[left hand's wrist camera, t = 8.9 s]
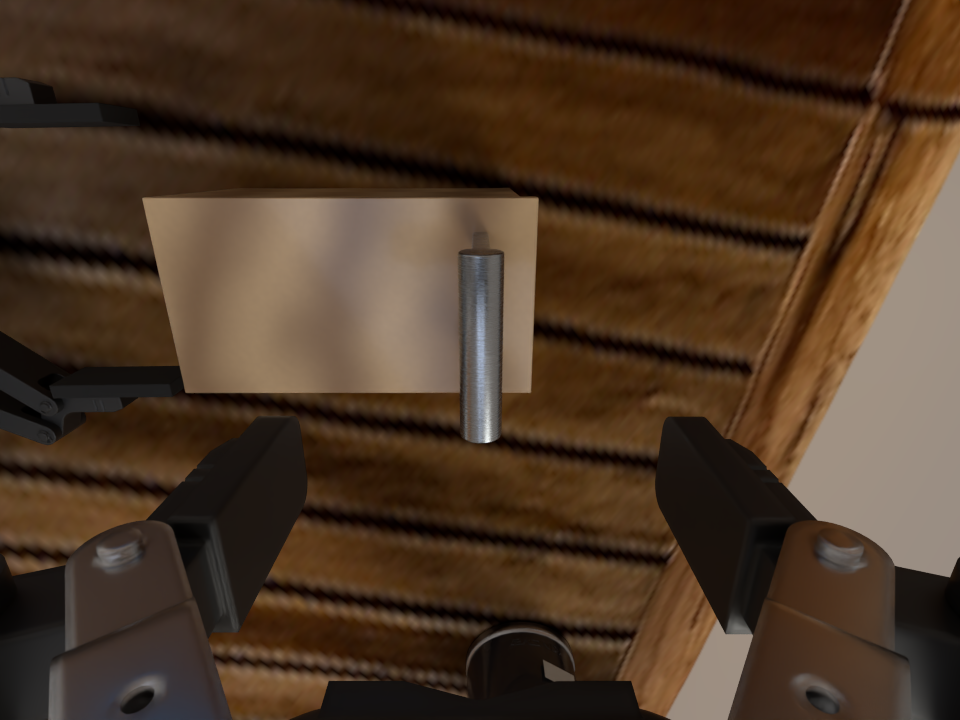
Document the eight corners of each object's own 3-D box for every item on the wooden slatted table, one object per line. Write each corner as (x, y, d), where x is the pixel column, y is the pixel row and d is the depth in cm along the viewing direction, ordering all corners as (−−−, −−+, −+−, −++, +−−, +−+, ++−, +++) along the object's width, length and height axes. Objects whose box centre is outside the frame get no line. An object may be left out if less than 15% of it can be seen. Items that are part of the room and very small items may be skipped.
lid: (536, 196, 23) (564, 212, 16) (529, 386, 26) (549, 475, 19) (152, 196, 23) (-7, 211, 15) (193, 386, 26) (79, 475, 19)
